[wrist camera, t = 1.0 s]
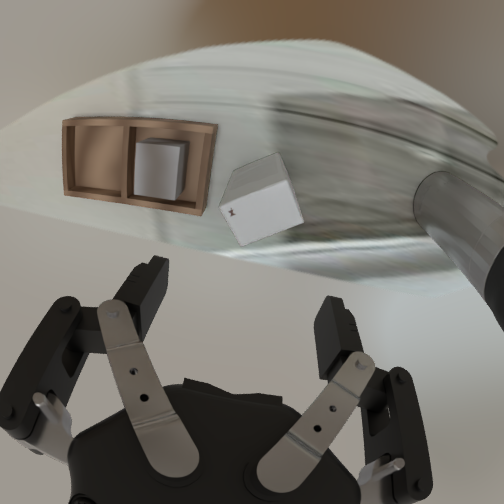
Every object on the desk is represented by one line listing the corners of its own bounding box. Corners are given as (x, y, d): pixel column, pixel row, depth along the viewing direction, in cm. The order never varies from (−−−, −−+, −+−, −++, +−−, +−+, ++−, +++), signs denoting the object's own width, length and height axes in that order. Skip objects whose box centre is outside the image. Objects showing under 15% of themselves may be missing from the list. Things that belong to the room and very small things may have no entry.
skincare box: (247, 200, 34) (238, 249, 24) (232, 170, 32) (215, 206, 22) (293, 182, 33) (305, 224, 22) (279, 150, 31) (286, 177, 20)
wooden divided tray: (218, 124, 29) (209, 128, 25) (206, 206, 35) (197, 223, 30) (75, 117, 28) (53, 122, 24) (75, 188, 34) (55, 200, 29)
